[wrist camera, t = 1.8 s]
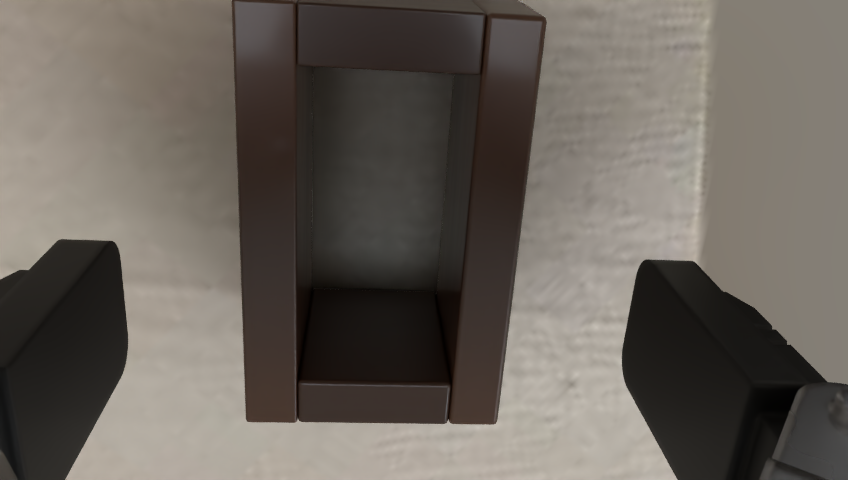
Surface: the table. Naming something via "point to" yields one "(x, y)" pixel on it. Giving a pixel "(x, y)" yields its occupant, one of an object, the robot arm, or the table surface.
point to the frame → (461, 224)
